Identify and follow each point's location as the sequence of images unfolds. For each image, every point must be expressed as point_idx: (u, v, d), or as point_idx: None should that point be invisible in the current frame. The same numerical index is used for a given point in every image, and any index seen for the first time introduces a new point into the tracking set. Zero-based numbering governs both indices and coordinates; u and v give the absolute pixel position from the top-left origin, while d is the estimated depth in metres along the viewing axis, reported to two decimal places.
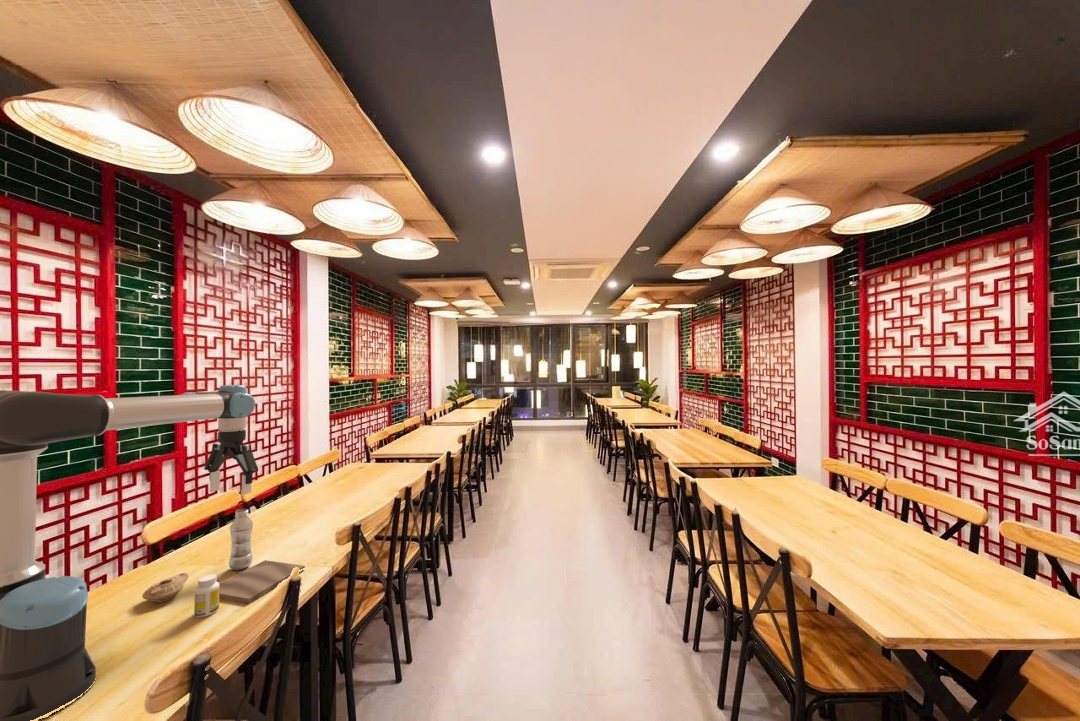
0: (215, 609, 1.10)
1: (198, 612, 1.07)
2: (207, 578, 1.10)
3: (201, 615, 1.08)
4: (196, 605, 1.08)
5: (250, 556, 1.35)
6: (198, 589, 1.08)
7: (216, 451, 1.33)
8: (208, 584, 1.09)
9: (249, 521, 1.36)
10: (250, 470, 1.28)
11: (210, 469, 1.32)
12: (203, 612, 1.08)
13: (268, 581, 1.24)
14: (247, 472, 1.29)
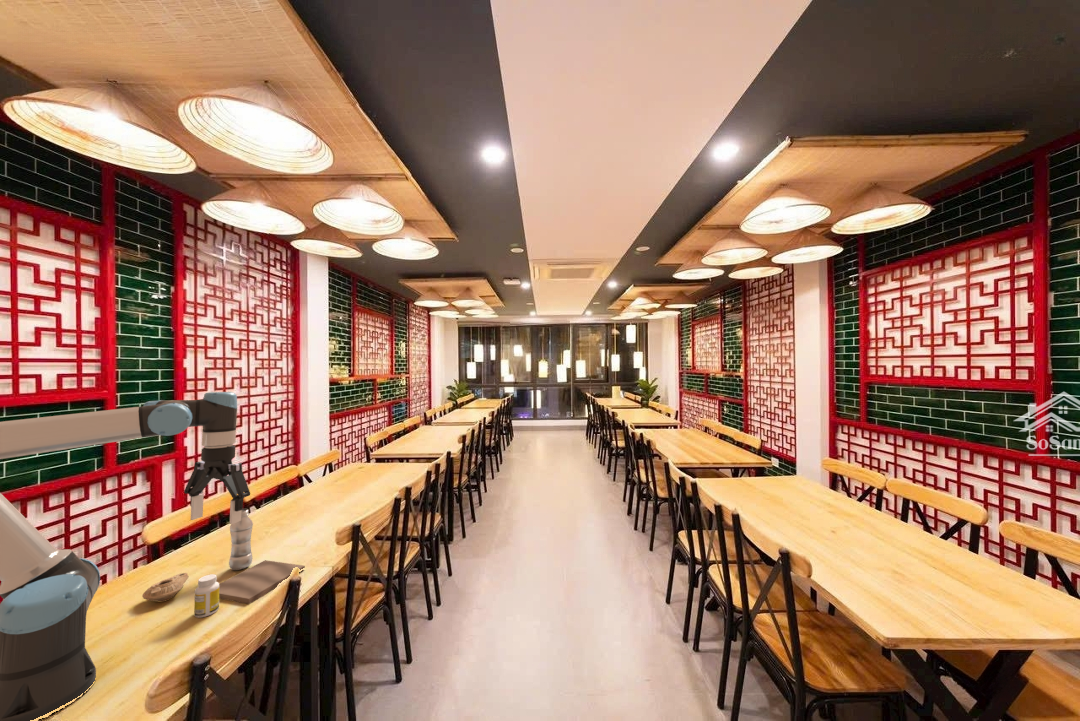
0: (215, 609, 1.10)
1: (198, 612, 1.07)
2: (207, 578, 1.10)
3: (201, 615, 1.08)
4: (196, 605, 1.08)
5: (250, 556, 1.35)
6: (198, 589, 1.08)
7: (199, 471, 1.11)
8: (208, 584, 1.09)
9: (249, 521, 1.36)
10: (240, 495, 1.07)
11: (191, 493, 1.10)
12: (203, 612, 1.08)
13: (268, 581, 1.24)
14: (237, 497, 1.08)
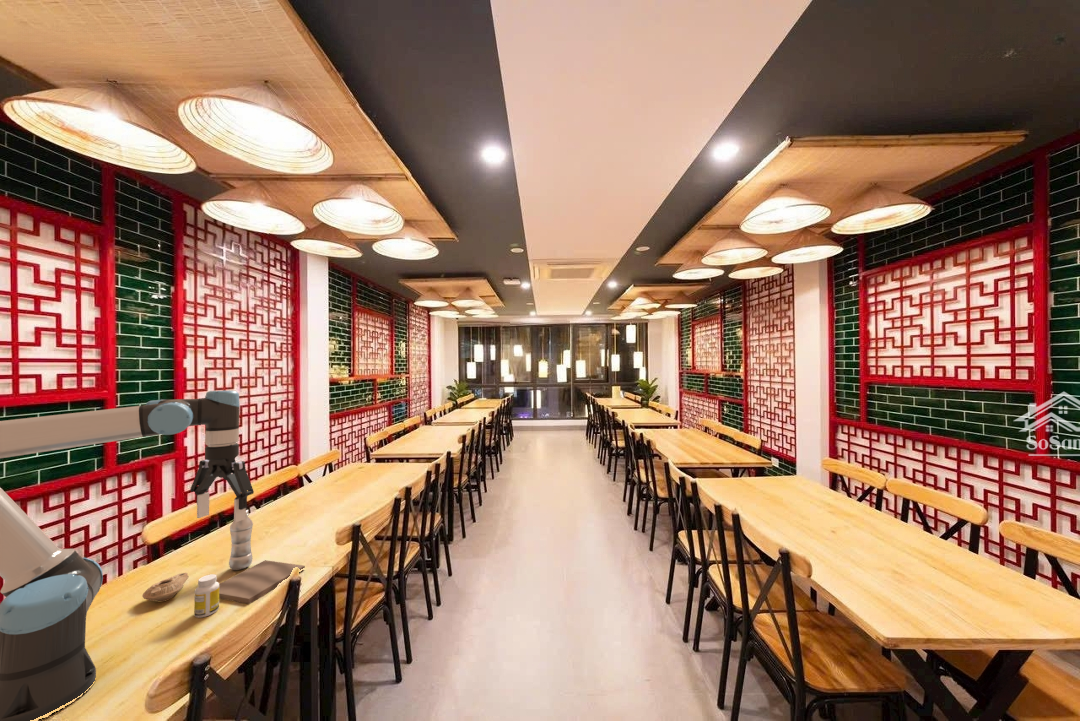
0: (215, 609, 1.10)
1: (198, 612, 1.07)
2: (207, 578, 1.10)
3: (201, 615, 1.08)
4: (196, 605, 1.08)
5: (250, 556, 1.35)
6: (198, 589, 1.08)
7: (204, 469, 1.11)
8: (208, 584, 1.09)
9: (249, 521, 1.36)
10: (244, 493, 1.07)
11: (197, 491, 1.11)
12: (203, 612, 1.08)
13: (268, 581, 1.24)
14: (240, 495, 1.07)
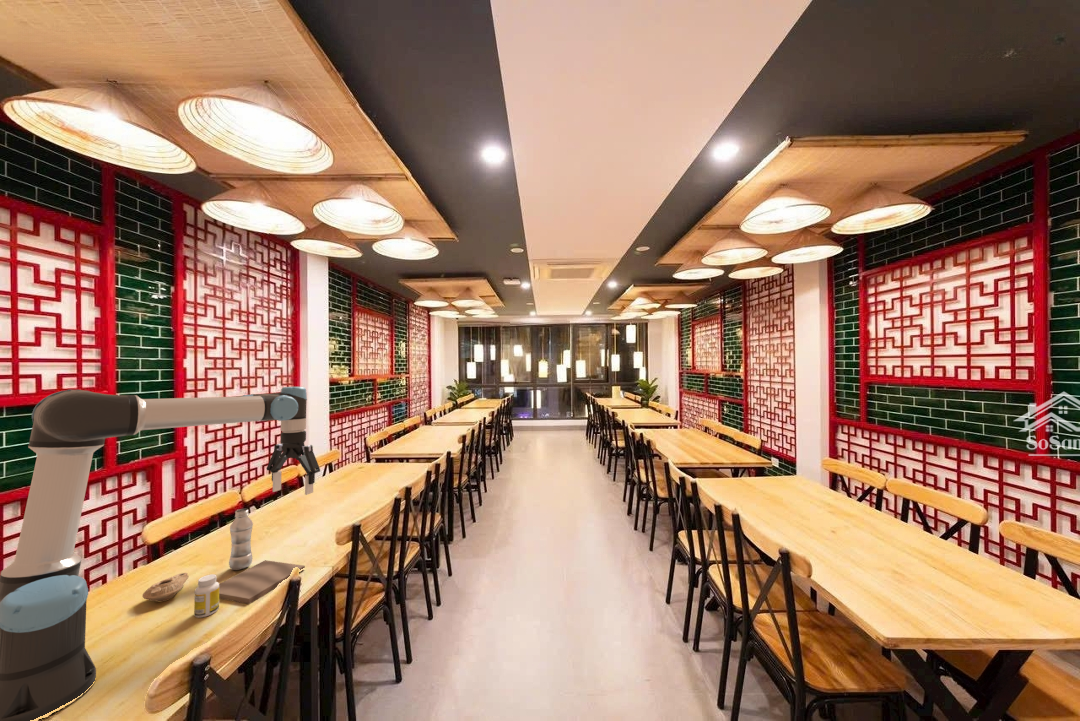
0: (215, 609, 1.10)
1: (198, 612, 1.07)
2: (207, 578, 1.10)
3: (201, 615, 1.08)
4: (196, 605, 1.08)
5: (250, 556, 1.35)
6: (198, 589, 1.08)
7: (278, 452, 1.35)
8: (208, 584, 1.09)
9: (249, 521, 1.36)
10: (313, 470, 1.30)
11: (272, 469, 1.34)
12: (203, 612, 1.08)
13: (268, 581, 1.24)
14: (310, 472, 1.31)
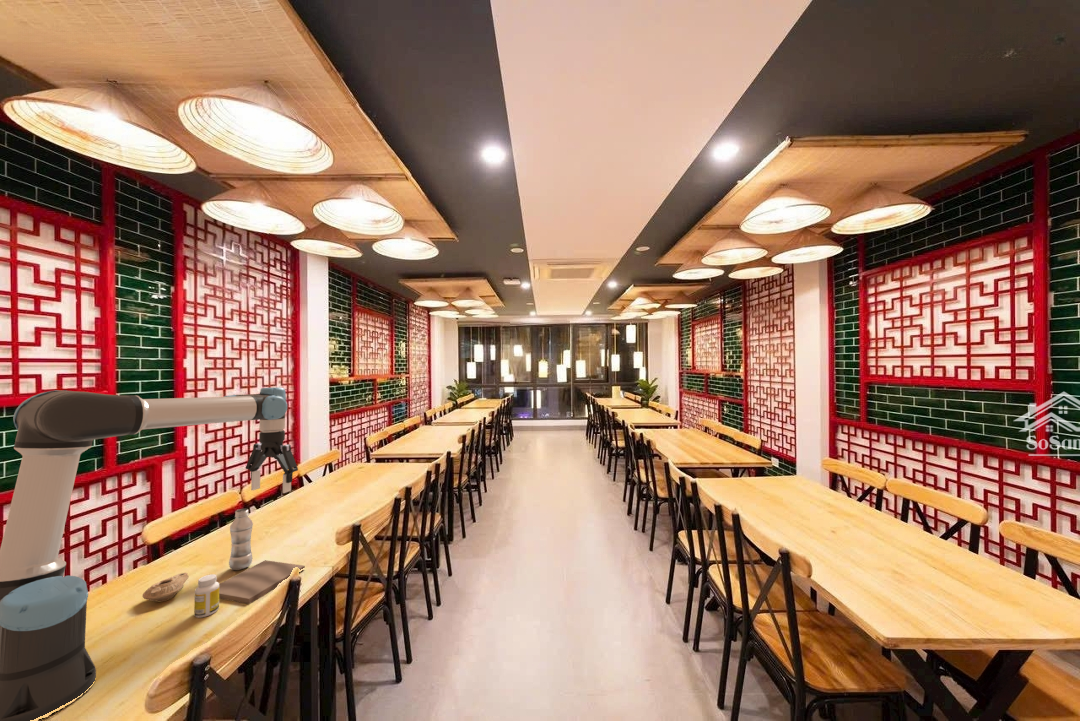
0: (215, 609, 1.10)
1: (198, 612, 1.07)
2: (207, 578, 1.10)
3: (201, 615, 1.08)
4: (196, 605, 1.08)
5: (250, 556, 1.35)
6: (198, 589, 1.08)
7: (257, 451, 1.38)
8: (208, 584, 1.09)
9: (249, 521, 1.36)
10: (291, 469, 1.33)
11: (251, 468, 1.37)
12: (203, 612, 1.08)
13: (268, 581, 1.24)
14: (288, 471, 1.34)
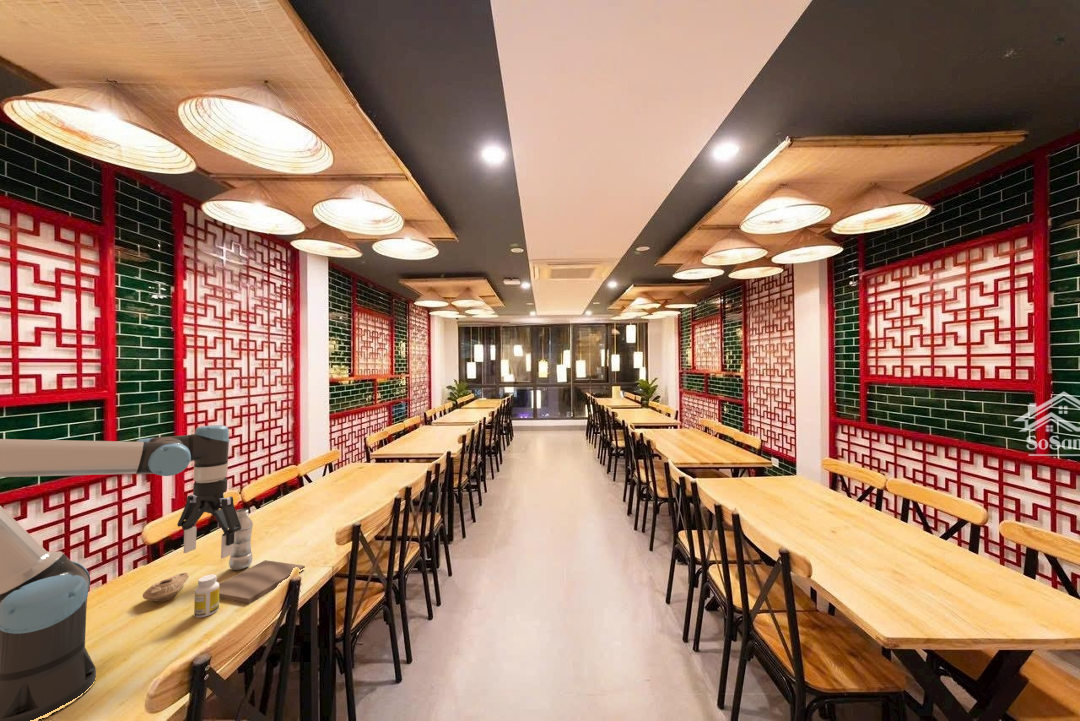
0: (215, 609, 1.10)
1: (198, 612, 1.07)
2: (207, 578, 1.10)
3: (201, 615, 1.08)
4: (196, 605, 1.08)
5: (250, 556, 1.35)
6: (198, 589, 1.08)
7: (192, 504, 1.12)
8: (208, 584, 1.09)
9: (249, 521, 1.36)
10: (231, 529, 1.08)
11: (184, 526, 1.11)
12: (203, 612, 1.08)
13: (268, 581, 1.24)
14: (228, 531, 1.08)
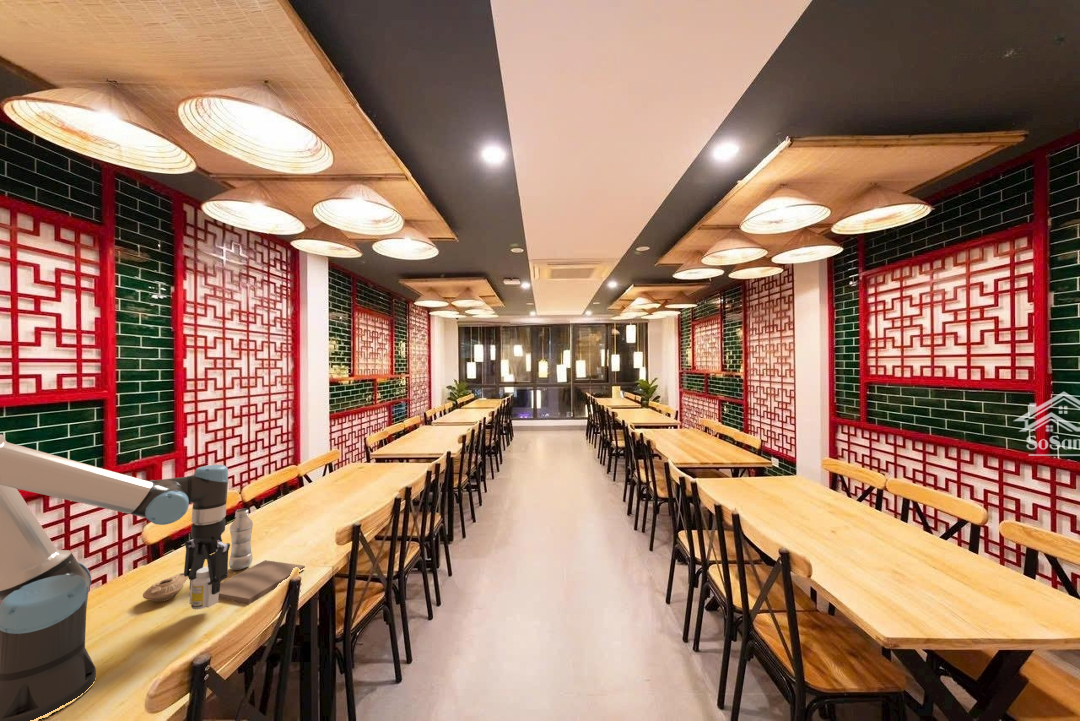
0: None
1: (195, 604, 1.07)
2: (205, 570, 1.10)
3: (198, 607, 1.07)
4: (193, 597, 1.07)
5: (250, 556, 1.35)
6: (196, 580, 1.08)
7: (192, 549, 1.11)
8: (206, 575, 1.09)
9: (249, 521, 1.36)
10: (217, 579, 1.08)
11: (190, 575, 1.10)
12: (200, 604, 1.07)
13: (268, 581, 1.24)
14: (214, 581, 1.08)
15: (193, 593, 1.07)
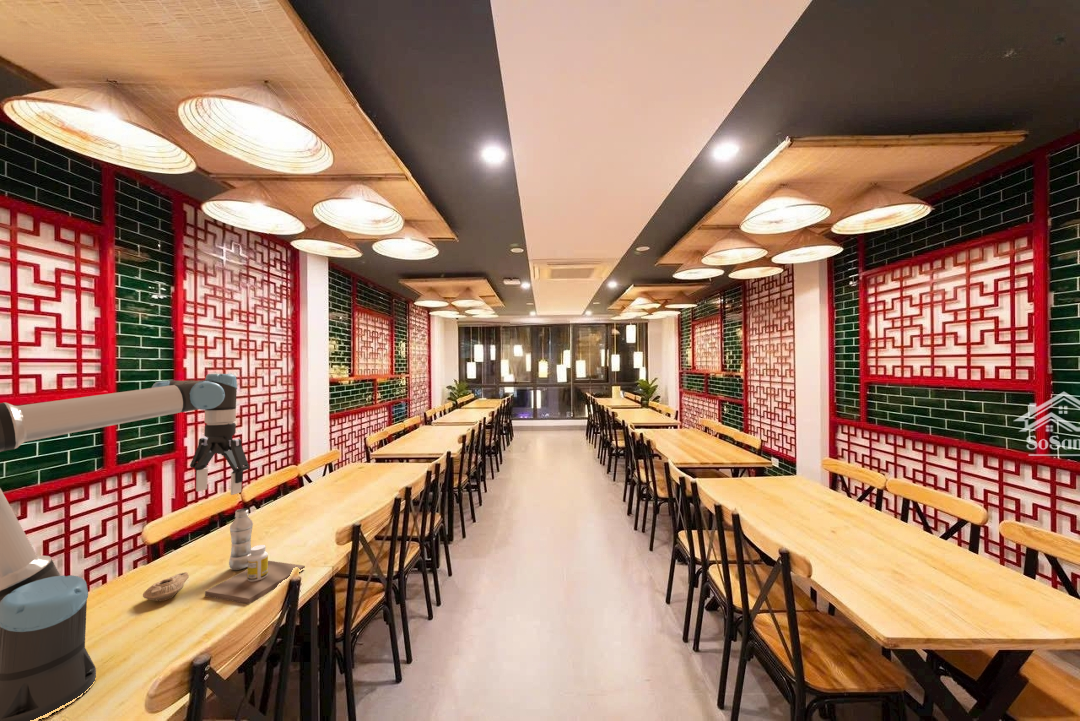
0: (265, 575, 1.26)
1: (251, 577, 1.23)
2: (258, 548, 1.26)
3: (254, 579, 1.23)
4: (249, 571, 1.23)
5: None
6: (251, 557, 1.24)
7: (203, 447, 1.21)
8: (259, 552, 1.25)
9: (249, 521, 1.36)
10: (240, 467, 1.16)
11: (196, 466, 1.20)
12: (255, 577, 1.23)
13: (268, 581, 1.24)
14: (237, 470, 1.17)
15: (249, 568, 1.23)
